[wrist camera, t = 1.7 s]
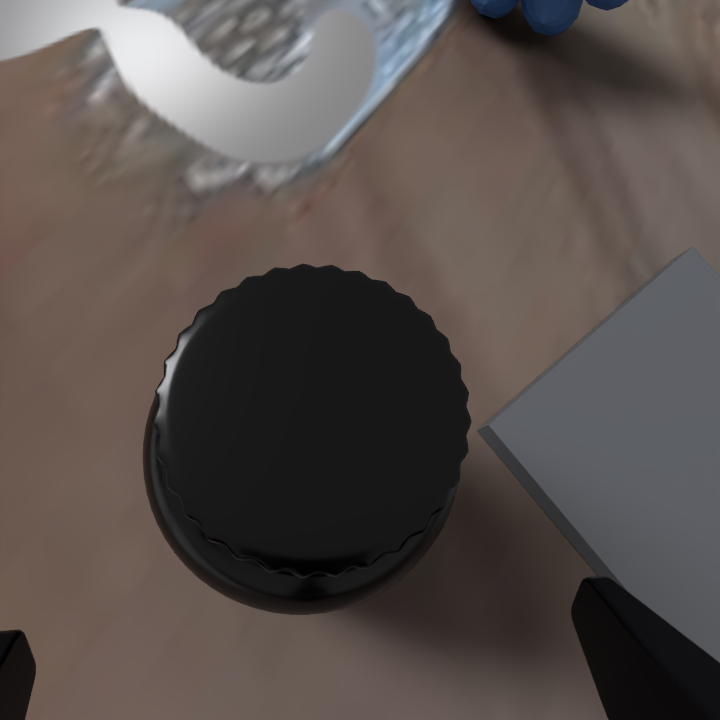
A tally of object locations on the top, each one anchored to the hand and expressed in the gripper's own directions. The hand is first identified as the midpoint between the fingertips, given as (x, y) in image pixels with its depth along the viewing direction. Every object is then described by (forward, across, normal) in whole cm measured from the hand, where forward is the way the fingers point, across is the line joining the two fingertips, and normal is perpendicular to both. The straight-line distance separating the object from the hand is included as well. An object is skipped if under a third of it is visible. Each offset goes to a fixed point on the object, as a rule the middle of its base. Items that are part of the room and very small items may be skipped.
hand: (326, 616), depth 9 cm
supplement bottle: (+10, 0, +5) cm, 11 cm away
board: (+8, -18, +7) cm, 20 cm away
